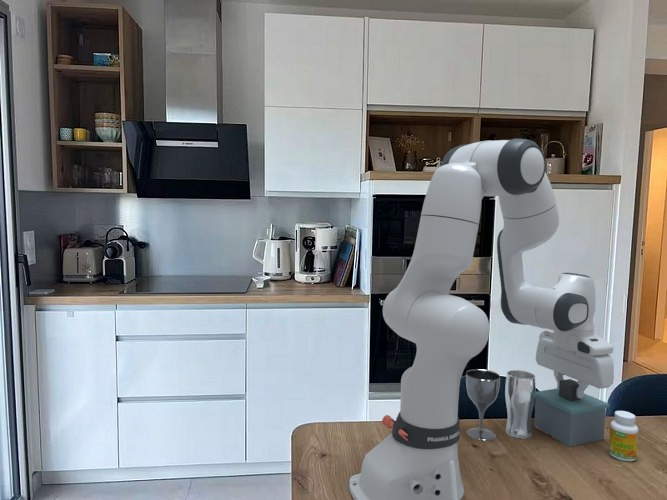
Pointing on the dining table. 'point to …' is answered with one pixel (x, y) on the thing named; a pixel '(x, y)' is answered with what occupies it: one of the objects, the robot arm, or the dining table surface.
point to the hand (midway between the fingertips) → (570, 393)
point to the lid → (570, 399)
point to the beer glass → (519, 402)
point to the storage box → (569, 424)
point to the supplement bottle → (623, 436)
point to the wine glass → (482, 398)
